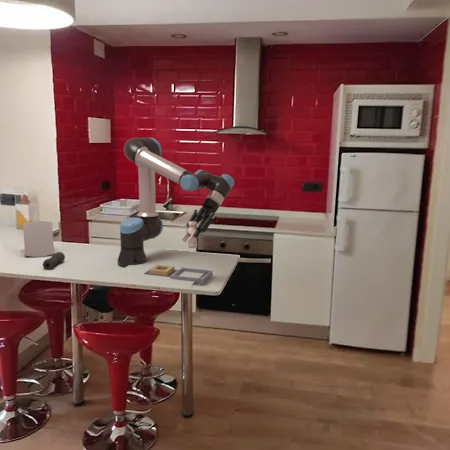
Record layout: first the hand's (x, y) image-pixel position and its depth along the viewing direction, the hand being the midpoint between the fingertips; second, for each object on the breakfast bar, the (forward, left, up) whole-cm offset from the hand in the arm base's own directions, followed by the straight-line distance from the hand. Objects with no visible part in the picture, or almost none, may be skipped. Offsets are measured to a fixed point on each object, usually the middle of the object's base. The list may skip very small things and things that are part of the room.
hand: (186, 241), depth 216 cm
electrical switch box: (-93, +16, -19) cm, 97 cm away
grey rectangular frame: (+2, +3, -19) cm, 19 cm away
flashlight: (-72, 0, -20) cm, 75 cm away
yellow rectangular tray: (-14, +4, -19) cm, 24 cm away
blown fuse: (+2, +3, -3) cm, 5 cm away
